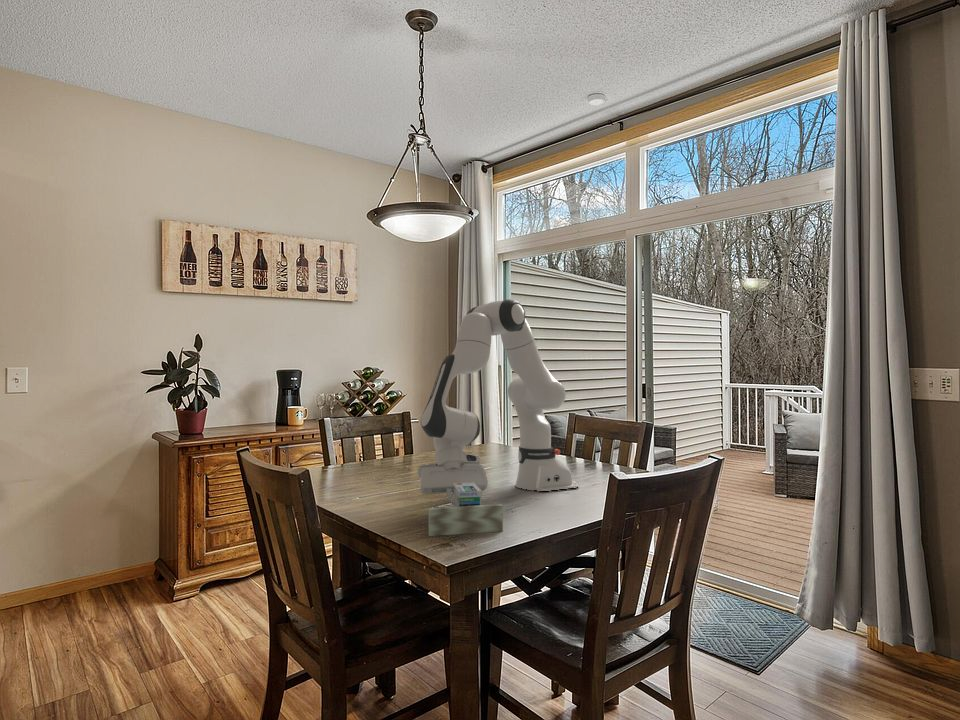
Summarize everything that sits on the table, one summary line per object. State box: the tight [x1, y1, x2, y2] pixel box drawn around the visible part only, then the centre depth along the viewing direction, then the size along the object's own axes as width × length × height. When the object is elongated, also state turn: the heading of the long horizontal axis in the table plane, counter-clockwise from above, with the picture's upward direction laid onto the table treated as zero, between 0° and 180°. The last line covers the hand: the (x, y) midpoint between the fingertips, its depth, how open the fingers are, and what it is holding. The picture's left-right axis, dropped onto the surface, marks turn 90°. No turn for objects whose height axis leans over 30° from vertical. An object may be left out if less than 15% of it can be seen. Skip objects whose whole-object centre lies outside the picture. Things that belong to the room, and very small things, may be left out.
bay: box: [428, 503, 504, 537], centre depth 162 cm, size 20×14×7 cm
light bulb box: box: [452, 482, 483, 507], centre depth 163 cm, size 11×7×11 cm, turn 12°
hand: (456, 503), depth 168 cm, fingers closed
